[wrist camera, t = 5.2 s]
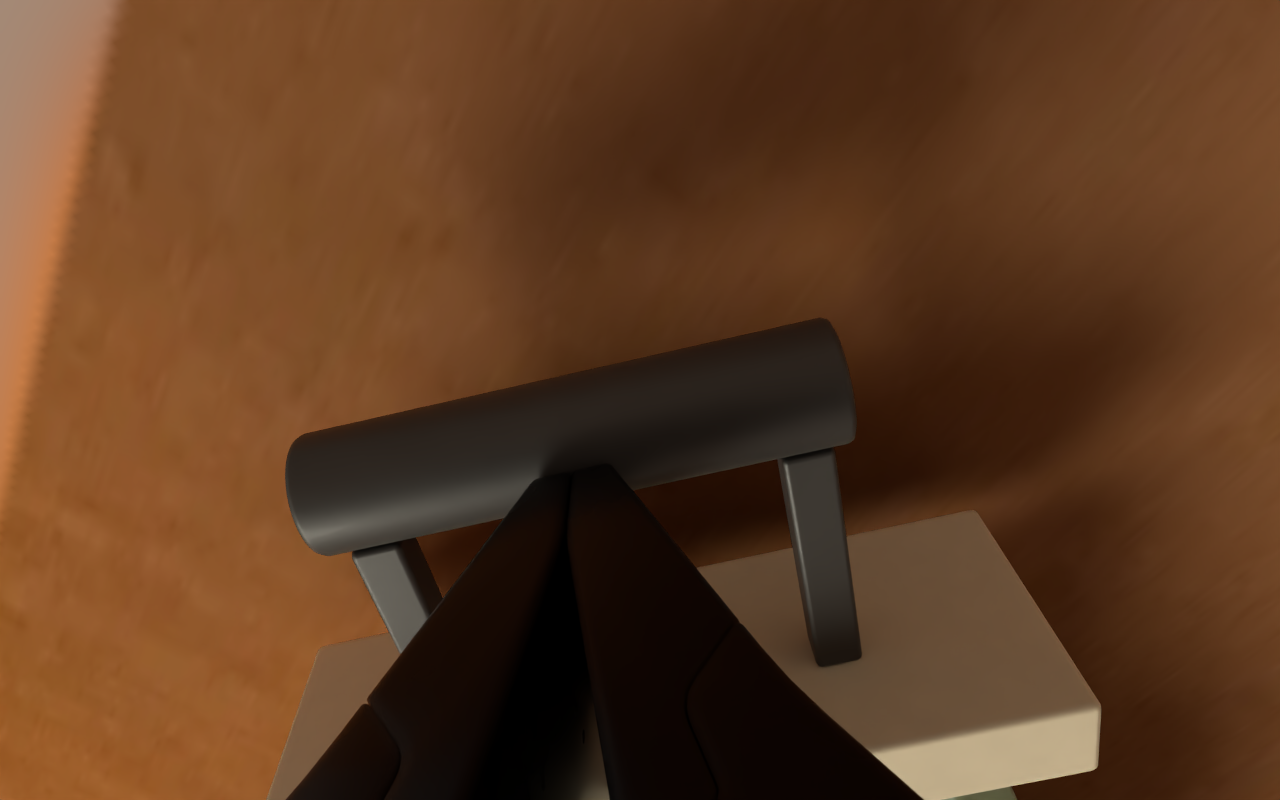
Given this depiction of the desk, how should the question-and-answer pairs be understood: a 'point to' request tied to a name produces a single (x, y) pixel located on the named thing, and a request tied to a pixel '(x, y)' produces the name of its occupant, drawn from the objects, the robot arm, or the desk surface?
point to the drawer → (751, 586)
